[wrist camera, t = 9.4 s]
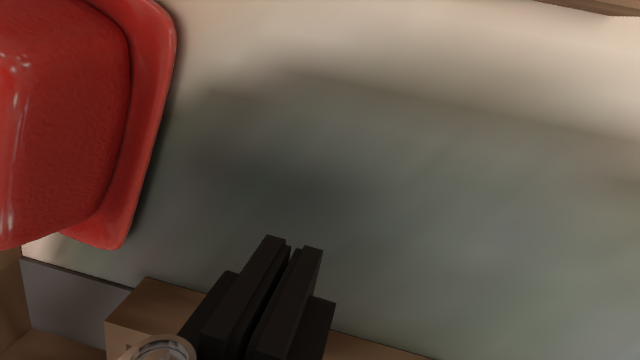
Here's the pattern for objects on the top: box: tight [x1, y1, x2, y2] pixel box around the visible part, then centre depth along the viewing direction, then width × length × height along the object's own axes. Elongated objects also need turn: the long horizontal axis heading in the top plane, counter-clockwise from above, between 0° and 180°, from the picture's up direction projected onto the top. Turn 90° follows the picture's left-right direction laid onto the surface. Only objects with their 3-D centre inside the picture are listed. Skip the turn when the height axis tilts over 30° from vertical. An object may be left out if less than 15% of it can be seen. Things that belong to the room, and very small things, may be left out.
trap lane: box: [0, 0, 640, 360], centre depth 14 cm, size 29×29×3 cm
